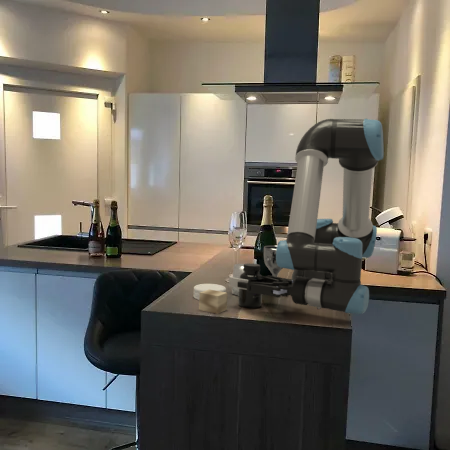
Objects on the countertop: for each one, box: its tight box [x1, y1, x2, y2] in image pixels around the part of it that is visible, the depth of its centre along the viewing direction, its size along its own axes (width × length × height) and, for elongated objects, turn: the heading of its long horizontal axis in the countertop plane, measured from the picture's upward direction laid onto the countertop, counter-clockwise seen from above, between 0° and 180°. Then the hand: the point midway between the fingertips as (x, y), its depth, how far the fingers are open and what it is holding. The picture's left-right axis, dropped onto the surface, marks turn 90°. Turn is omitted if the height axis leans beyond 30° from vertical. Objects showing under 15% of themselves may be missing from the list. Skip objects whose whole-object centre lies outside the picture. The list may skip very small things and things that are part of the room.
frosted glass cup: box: [231, 263, 245, 297], centre depth 157 cm, size 7×7×9 cm
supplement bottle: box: [237, 262, 263, 309], centre depth 143 cm, size 7×7×12 cm
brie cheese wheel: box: [192, 283, 227, 301], centre depth 151 cm, size 10×10×4 cm
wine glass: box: [263, 245, 284, 277], centre depth 160 cm, size 8×8×15 cm
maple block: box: [198, 289, 228, 315], centre depth 137 cm, size 6×5×5 cm
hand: (235, 279), depth 145 cm, fingers closed on supplement bottle, 7 cm apart
